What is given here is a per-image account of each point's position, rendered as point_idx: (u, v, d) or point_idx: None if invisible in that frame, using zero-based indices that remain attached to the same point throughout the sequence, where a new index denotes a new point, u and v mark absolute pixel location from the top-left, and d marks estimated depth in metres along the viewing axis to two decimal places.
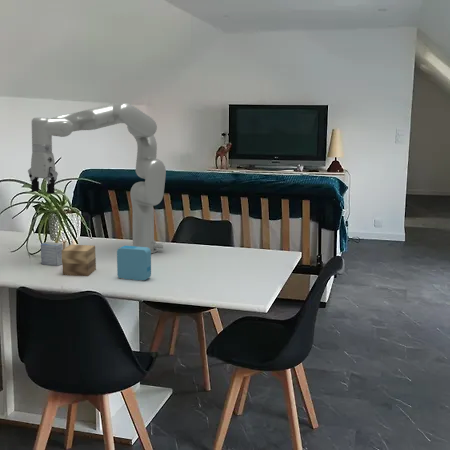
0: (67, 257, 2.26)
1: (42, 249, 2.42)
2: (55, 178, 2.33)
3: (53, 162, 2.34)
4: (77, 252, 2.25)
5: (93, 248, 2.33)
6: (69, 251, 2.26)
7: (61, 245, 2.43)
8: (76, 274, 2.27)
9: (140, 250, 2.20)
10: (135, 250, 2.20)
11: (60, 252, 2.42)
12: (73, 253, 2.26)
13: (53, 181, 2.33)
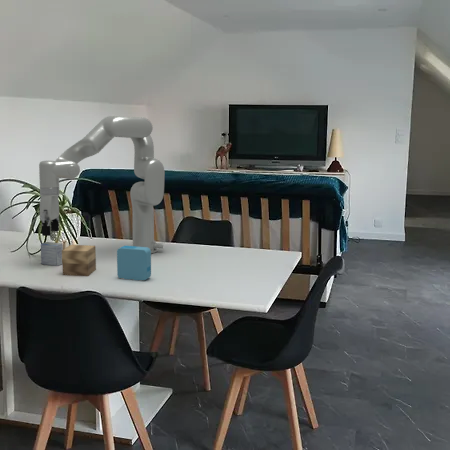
0: (67, 257, 2.26)
1: (42, 249, 2.42)
2: None
3: None
4: (77, 252, 2.26)
5: (93, 248, 2.33)
6: (69, 251, 2.26)
7: (61, 245, 2.43)
8: (76, 274, 2.27)
9: (140, 250, 2.20)
10: (135, 250, 2.20)
11: (60, 252, 2.42)
12: (73, 253, 2.26)
13: None
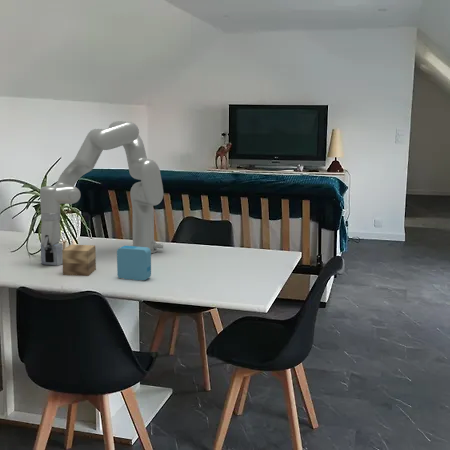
0: (68, 257, 2.27)
1: (42, 249, 2.42)
2: None
3: None
4: (78, 252, 2.26)
5: (93, 248, 2.33)
6: (70, 251, 2.26)
7: (61, 245, 2.43)
8: (76, 274, 2.27)
9: (140, 250, 2.20)
10: (135, 250, 2.20)
11: (60, 252, 2.42)
12: (74, 253, 2.26)
13: None
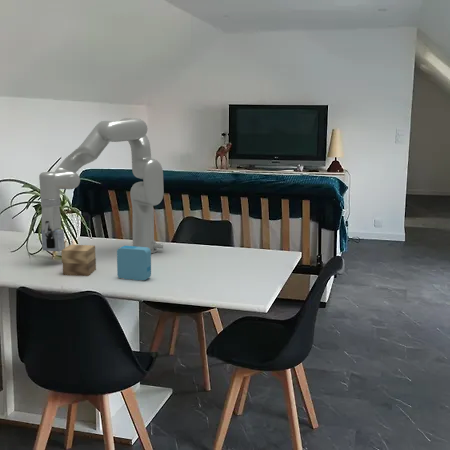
0: (67, 257, 2.26)
1: (43, 235, 2.41)
2: None
3: None
4: (77, 252, 2.26)
5: (93, 248, 2.33)
6: (69, 251, 2.26)
7: (62, 230, 2.42)
8: (76, 274, 2.27)
9: (140, 250, 2.20)
10: (135, 250, 2.20)
11: (61, 238, 2.42)
12: (73, 253, 2.26)
13: None
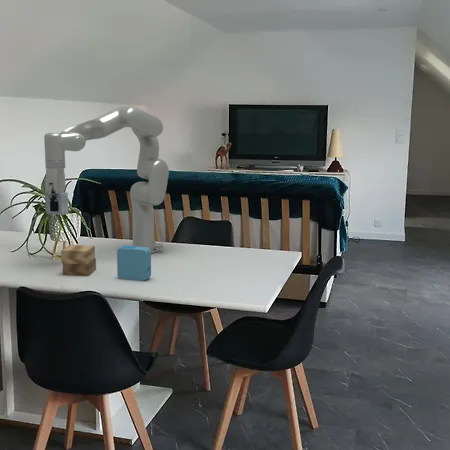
0: (67, 258, 2.26)
1: (47, 198, 2.35)
2: None
3: None
4: (77, 252, 2.25)
5: (93, 248, 2.33)
6: (69, 251, 2.26)
7: (66, 194, 2.36)
8: (76, 274, 2.27)
9: (140, 250, 2.20)
10: (135, 250, 2.20)
11: (65, 201, 2.36)
12: (73, 253, 2.26)
13: None
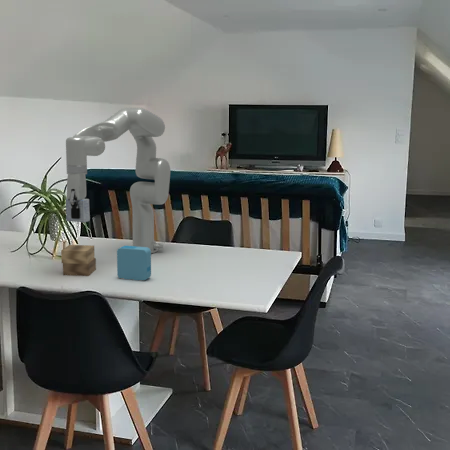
0: (67, 257, 2.26)
1: (67, 205, 2.27)
2: None
3: None
4: (77, 252, 2.26)
5: (92, 248, 2.33)
6: (69, 251, 2.26)
7: (87, 200, 2.27)
8: (76, 274, 2.27)
9: (140, 250, 2.20)
10: (135, 250, 2.20)
11: (87, 208, 2.27)
12: (73, 253, 2.26)
13: None
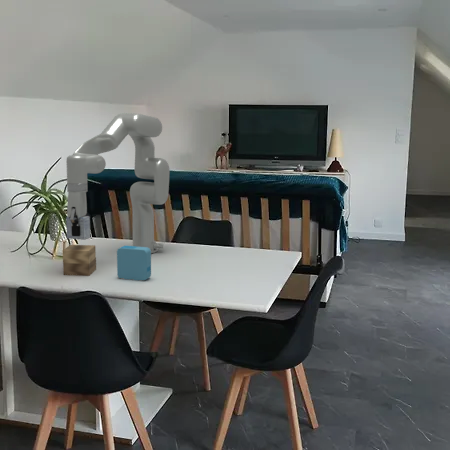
0: (68, 257, 2.26)
1: (68, 222, 2.28)
2: None
3: None
4: (78, 252, 2.26)
5: (94, 248, 2.33)
6: (70, 251, 2.26)
7: (88, 218, 2.28)
8: (77, 274, 2.27)
9: (140, 250, 2.20)
10: (135, 250, 2.20)
11: (87, 225, 2.28)
12: (74, 253, 2.26)
13: None
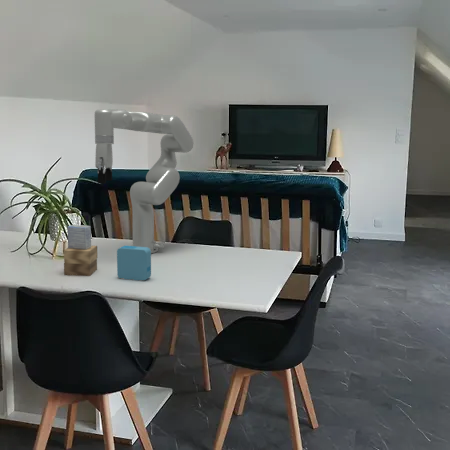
0: (70, 257, 2.26)
1: (69, 232, 2.28)
2: None
3: None
4: (80, 252, 2.26)
5: (95, 248, 2.33)
6: (71, 251, 2.26)
7: (89, 227, 2.29)
8: (77, 274, 2.27)
9: (140, 250, 2.20)
10: (135, 250, 2.20)
11: (88, 235, 2.29)
12: (75, 253, 2.26)
13: None
